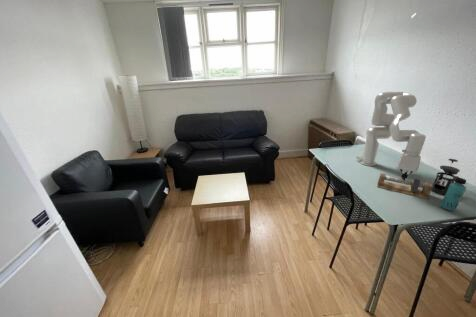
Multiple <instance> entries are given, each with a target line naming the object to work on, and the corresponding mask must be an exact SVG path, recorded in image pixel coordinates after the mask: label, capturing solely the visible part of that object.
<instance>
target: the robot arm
mask: <svg viewBox="0 0 476 317" xmlns="http://www.w3.org/2000/svg"><path fill="white" fill-rule="evenodd" d="M416 104H417V97H416V96H415V95H414V94H411V93H407V92H405V91H404V92H403V91H384V92H380V93H378V94H377V95H376V96H375V98H374V108H373V112H372V113H373V114H372V116H371V125H372V126H373V127H369V128H368V129H367V130H366V134H365V135H366V138H365V142H364V147H363V148H364V149H363V152H362V156H359V155H358V156H355V158H356V159H357V160H359V161H358V162H359V164H361V165H364V166H368V167H373V166H376V165H377V162H376V157H377V154H378V151H379V150H378V149H379V141H378V140H386V139H389V138H390V137H391V139H392V141H394V142H396V143H403V142H404V143H406V146H405V149H401V153H402V154H401V156H400V158H399V160H398V163H397V166H396V170H399V171H400V172H401V175H400V178H401V179H404V180H407V179H408V176H409V175H410V174H412V173H413V174H414V173H415V174H416V173H418V170H419V169H420V168H419V167H420V164H421V161H422V160H421V159H422V158H421V157H422V156H420V155H421V152H422V150H423V146H424V143H425V141H426V138H427V136H426V135H425V134H424V133H420V132H419V131H417V130H414V129H400V126H399V124H400V122H403V121H404V120H406V119H408V118H410V117H411V111H410V108H413V107H415V106H416ZM388 105H390V106H391V111H392V113H388Z"/></svg>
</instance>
